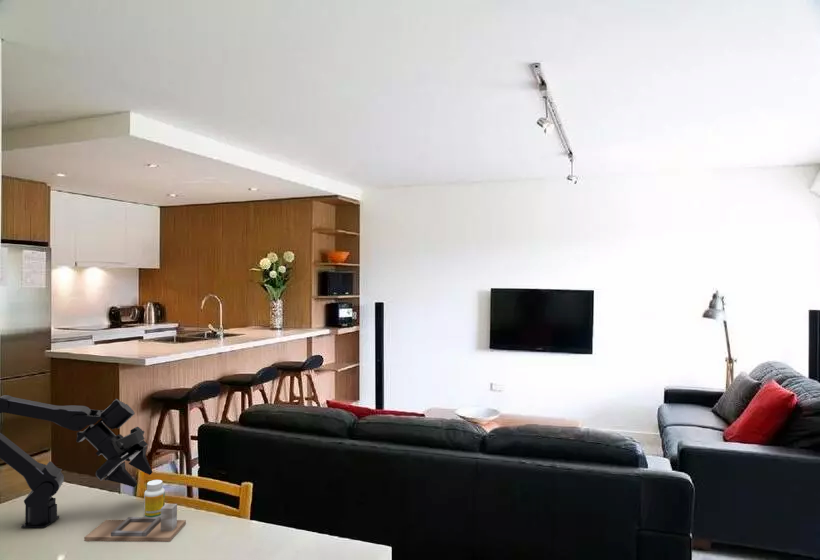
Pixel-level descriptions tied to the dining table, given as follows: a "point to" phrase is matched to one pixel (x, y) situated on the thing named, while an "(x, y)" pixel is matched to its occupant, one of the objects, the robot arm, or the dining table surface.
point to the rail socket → (140, 527)
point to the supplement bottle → (154, 499)
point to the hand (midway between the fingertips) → (143, 479)
